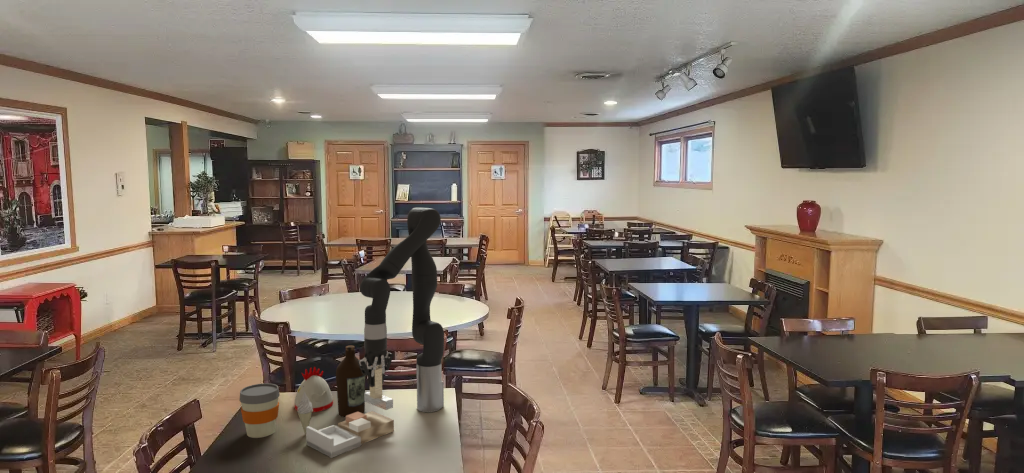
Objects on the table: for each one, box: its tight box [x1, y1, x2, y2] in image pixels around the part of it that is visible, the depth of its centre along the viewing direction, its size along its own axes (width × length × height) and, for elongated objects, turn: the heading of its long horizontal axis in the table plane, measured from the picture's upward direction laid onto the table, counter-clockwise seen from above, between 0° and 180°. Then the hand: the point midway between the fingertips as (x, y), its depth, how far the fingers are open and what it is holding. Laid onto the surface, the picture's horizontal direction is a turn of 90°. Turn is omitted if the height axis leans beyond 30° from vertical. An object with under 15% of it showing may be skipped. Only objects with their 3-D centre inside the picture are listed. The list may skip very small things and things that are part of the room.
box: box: [305, 424, 362, 459], centre depth 197 cm, size 11×14×6 cm
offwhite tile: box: [349, 418, 371, 432], centre depth 201 cm, size 5×5×2 cm
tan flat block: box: [337, 410, 395, 445], centre depth 206 cm, size 14×12×4 cm
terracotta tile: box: [345, 412, 367, 423], centre depth 206 cm, size 5×5×2 cm
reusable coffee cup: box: [239, 382, 281, 439], centre depth 206 cm, size 13×13×15 cm
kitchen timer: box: [294, 366, 334, 413], centre depth 230 cm, size 14×14×15 cm
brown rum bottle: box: [335, 345, 367, 418], centre depth 223 cm, size 11×11×25 cm
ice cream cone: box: [296, 391, 313, 435], centre depth 205 cm, size 5×5×15 cm
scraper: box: [364, 366, 394, 411], centre depth 209 cm, size 4×12×13 cm, turn 49°
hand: (376, 384), depth 208 cm, fingers closed on scraper, 3 cm apart
